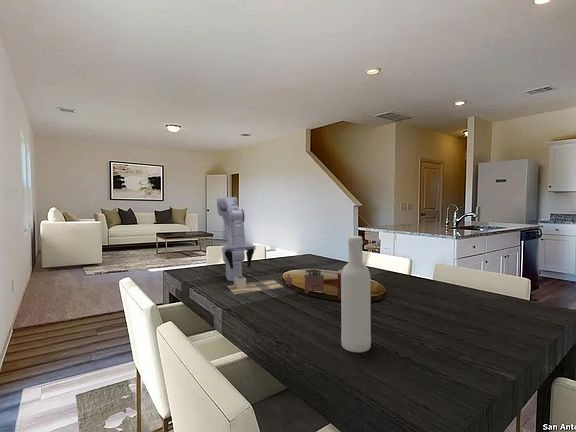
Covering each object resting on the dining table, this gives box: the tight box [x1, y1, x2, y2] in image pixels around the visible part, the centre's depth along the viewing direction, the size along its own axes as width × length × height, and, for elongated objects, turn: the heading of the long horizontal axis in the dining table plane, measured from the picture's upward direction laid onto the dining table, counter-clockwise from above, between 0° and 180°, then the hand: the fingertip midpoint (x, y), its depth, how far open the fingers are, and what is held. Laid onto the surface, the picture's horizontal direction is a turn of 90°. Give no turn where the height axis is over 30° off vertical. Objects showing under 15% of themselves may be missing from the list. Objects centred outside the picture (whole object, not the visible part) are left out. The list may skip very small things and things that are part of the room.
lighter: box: [304, 268, 325, 294], centre depth 139 cm, size 8×3×10 cm, turn 84°
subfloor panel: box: [226, 279, 284, 295], centre depth 146 cm, size 14×22×1 cm, turn 113°
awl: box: [284, 273, 293, 287], centre depth 149 cm, size 3×3×6 cm
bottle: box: [340, 235, 372, 353], centre depth 89 cm, size 8×8×30 cm
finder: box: [233, 275, 247, 289], centre depth 146 cm, size 6×4×4 cm, turn 23°
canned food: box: [336, 268, 343, 301], centre depth 130 cm, size 8×8×11 cm
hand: (240, 267), depth 144 cm, fingers open, 7 cm apart
